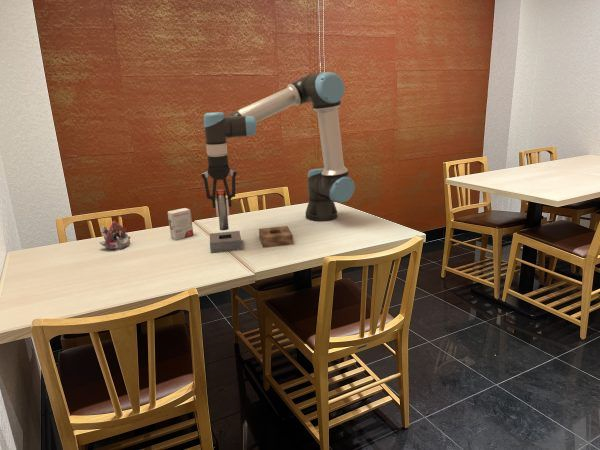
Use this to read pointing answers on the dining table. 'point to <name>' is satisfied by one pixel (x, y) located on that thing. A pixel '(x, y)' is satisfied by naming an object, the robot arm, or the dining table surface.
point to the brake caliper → (115, 237)
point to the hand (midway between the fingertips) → (223, 215)
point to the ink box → (180, 223)
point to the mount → (275, 236)
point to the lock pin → (222, 209)
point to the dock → (225, 241)
